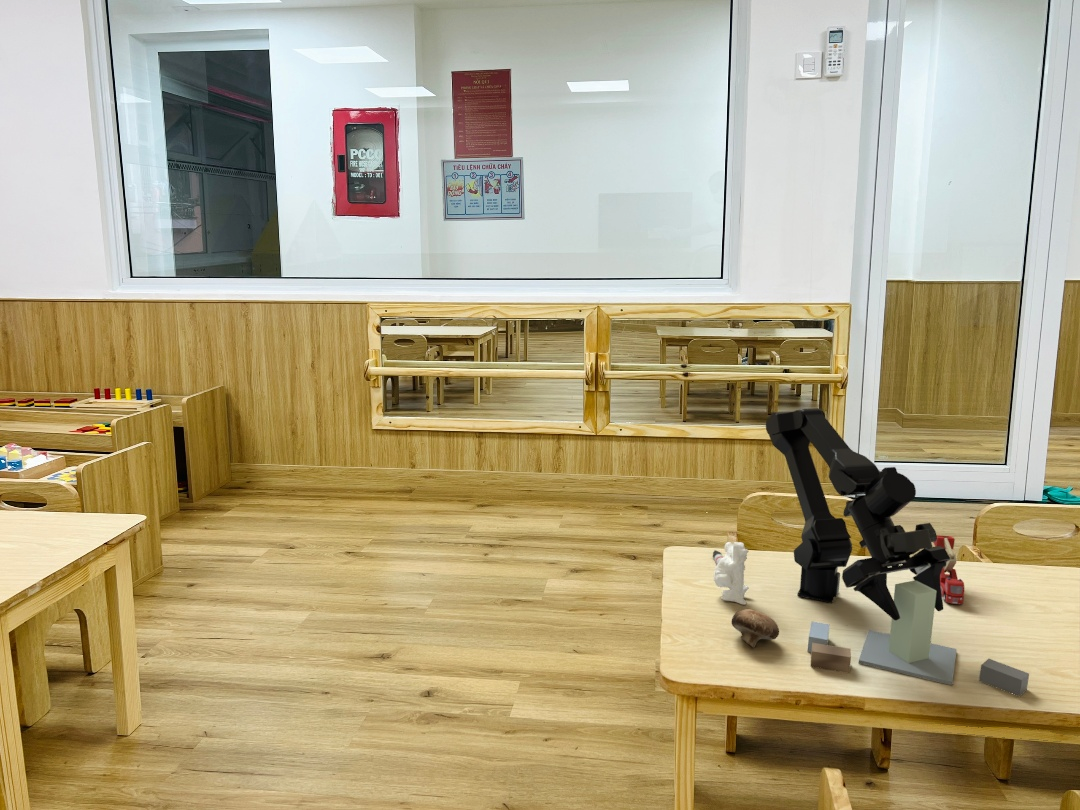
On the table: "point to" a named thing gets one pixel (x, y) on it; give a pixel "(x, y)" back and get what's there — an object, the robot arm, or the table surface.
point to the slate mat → (931, 669)
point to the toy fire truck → (949, 582)
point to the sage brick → (912, 621)
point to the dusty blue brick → (818, 634)
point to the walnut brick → (831, 657)
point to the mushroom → (754, 626)
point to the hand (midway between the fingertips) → (919, 614)
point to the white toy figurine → (732, 572)
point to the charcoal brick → (1004, 677)
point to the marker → (717, 556)
